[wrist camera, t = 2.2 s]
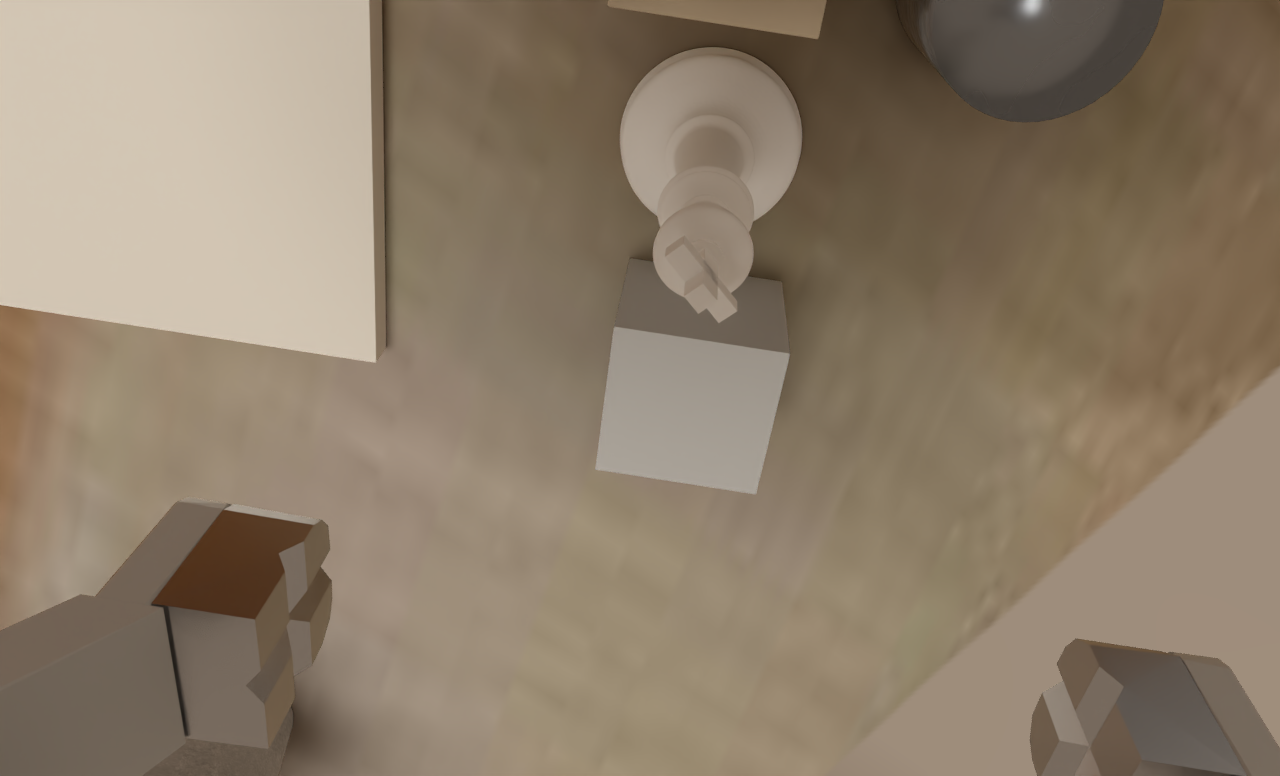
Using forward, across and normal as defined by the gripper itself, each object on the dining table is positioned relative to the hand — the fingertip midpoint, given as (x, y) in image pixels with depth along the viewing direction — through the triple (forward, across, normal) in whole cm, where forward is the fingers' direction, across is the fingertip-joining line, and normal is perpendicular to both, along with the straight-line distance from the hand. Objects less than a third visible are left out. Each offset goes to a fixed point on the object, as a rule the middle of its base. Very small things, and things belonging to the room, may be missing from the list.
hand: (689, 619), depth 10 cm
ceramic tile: (+18, +16, +1) cm, 24 cm away
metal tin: (+18, -6, -5) cm, 19 cm away
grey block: (+18, 0, +6) cm, 19 cm away
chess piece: (+18, 0, 0) cm, 18 cm away
